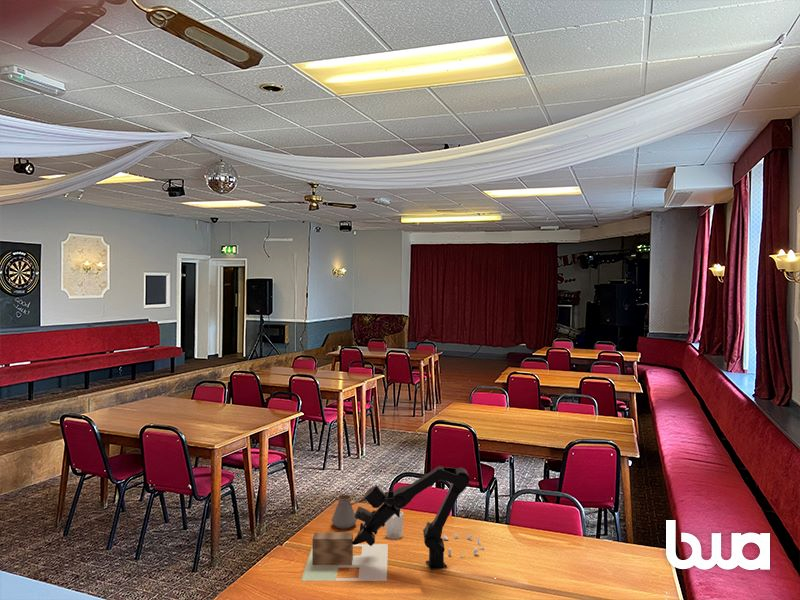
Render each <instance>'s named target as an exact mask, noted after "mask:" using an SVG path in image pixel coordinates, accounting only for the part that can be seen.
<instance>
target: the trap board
mask: <svg viewBox="0 0 800 600" xmlns="http://www.w3.org/2000/svg"><path fill="white" fill-rule="evenodd" d="M353 547H361V554H360V555H359V554H358V555H357V554H355V555H354V554H353V560H352V565H312V547H311V549H310V551H309V555H308V559H307V561H306V564H305V567H304V571H303V574H302V577H301V582H304V581H305V582H360V581H361V582H363V581H364V582H374V581H375V582H384V581H385V582H386V581H388V557H389V556H388V554H389V551H388V550H389V544H387V543H386V544H385V543H380V544H379V543H374V544H373V545H372V546H370V545H369V544H368V543H364V544H363V543H359V544H356V545H353ZM340 568H342V569H343V568H346V569H347V568H351V569H352V568H354V569H355V568H358V569H359V570H358V577H338V571H339V569H340Z"/></svg>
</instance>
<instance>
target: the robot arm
mask: <svg viewBox="0 0 800 600" xmlns="http://www.w3.org/2000/svg"><path fill="white" fill-rule="evenodd" d="M470 479H471V478H470V476H469V474H468V471H467V469H465V468H463V467H458V468H455V467H447V466H446V467H445V466H441V465H437V466H436V467H435V468H434V469H433V470H431V471H429V472H428V473H426V474H425V475H422V477H420V478H418V479H416V480H415V481H414V482H412V483H410V484H408V485H403V486H401V487H398V488H396V489H395V490H393V491H392V490H391V491H385V492H383V490H382V489H381V488H380V486H378V485H377V484H375V485H374V486H372V487H371V488H369V489H368V490H367V491H366V492H365V493H364V495H363V498H362V499H365V500H366V501H365V502H367V503H368V504H369V505H370V506H371V507H372V508H373V509H376V510H373V511H369V510H368V509H366V508H364V507H362V506H358V507H357V508H356V511H355V518H356V519H357V520H359V521H362V522H360V524H359V531H358V533H357V534H356V536H355V537H354V538H353V542H352V544H353V545H356V544H363V543H365V542H366V544H369V545H370V546H372V545H373V544H376V535H377V534H378V531H379V530H380V529H381V528H385V527H386V522H387V521H388V520H389V519H390V518H391V517H392V516H393V515H394V514H396V515H397V516H398V517H400V511H401V509H403V508H404V507H406V506H407V505H408V504H409V503H410V502H412V500H413V498H415V496H417V495H418V494H420V493H421V492H423V491H425V490H426V489H428V488H429V487H431V486H432V485H434V484H436V483H437V482H438V481H440V480H441V481H445V482H447V483H450V484H449V489H448V491H447V493H446V495H445V497H444V499H443V501H442V503H441V505H440V507H439V510H438V511H437V513H436V515H435V517H434V519H433V520H432V521H431V522H430V521H427V522H426V525H425V527H424V529H422V532H423V540H424V541H423V542H424V545H425V547H426V548H427V549H428V560H425V563H426V564H427V566H428V567H429V568H430V569H431V570H436V569H444V568H447V567H448V565H447V564H446V562H445V561H444V560H445V559H444V557H445V556H444V555H445V549H446V547H445V544H444V543H445V542H444V539H443V537H442V534H443V530H444V526H445V524H446V522H447V520H448V518H449V516H450V514H451V512H452V510H453V508H454V506H455V503H456V501H457V500H458V497H460V495H461V494H462V493H463V492H464V491H465V489H466V488H467V487H468V485H469V484H470V481H471V480H470Z"/></svg>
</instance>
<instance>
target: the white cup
mask: <svg viewBox="0 0 800 600" xmlns="http://www.w3.org/2000/svg"><path fill="white" fill-rule="evenodd" d="M403 527H404V512H403V511H402V510H400V517H398V516H397V515H396V514H394V515H393V516H392V517H391V518H390V519H389V520H388V521H387V522H386V523H385V536H386V538H388V539H390V540H399V539H401V538H402V537H403V530H404V528H403Z"/></svg>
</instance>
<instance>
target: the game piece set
mask: <svg viewBox="0 0 800 600" xmlns="http://www.w3.org/2000/svg"><path fill="white" fill-rule="evenodd" d="M465 533H466V535H465V537H466V539H467V540H470V541H471V540H472V539H473V537H472V536H473V535H469V533H468V532H467V531H466V532H465ZM442 534H443V533H442ZM453 538H454V539H459V534H458V533H455V534H454V536H453ZM476 538H477V540H476V541H475V542H476V543H475V544H476V545H478V546H480V547H479V548H477V547H475V548H474V549H473V551H472V553H473V554H474V556H476V555H477V553H478V552H479V550H485V547H484V546H481V544H482V541H481V540H480V536H479V535H478V536H477V537H476ZM442 539H443V540H444V541H447V540H449V537H448V536H447V535H446V534H445V533H444V534H443V537H442ZM447 550H448V551H447V554H448V556H449V557H450V556H451V555H452V549H451V548H450V547H449V548H448V549H447ZM459 556H461V558H466V556H465V555H464V554H463V555H462V554H459Z"/></svg>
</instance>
